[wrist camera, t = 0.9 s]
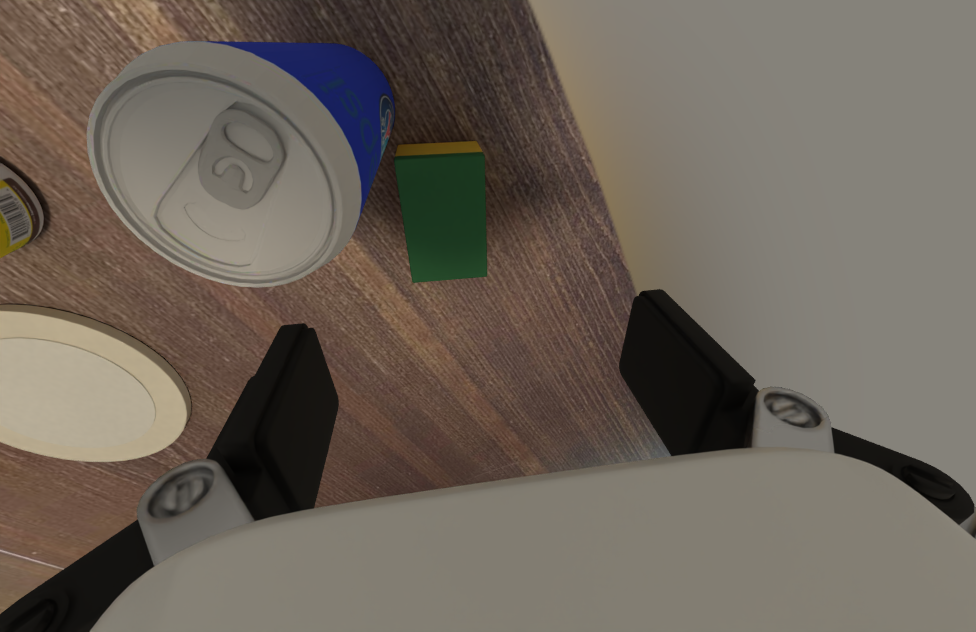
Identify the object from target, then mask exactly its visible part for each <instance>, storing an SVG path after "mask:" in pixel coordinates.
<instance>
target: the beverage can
mask: <svg viewBox="0 0 976 632" xmlns="http://www.w3.org/2000/svg"><path fill="white" fill-rule="evenodd" d="M394 120H395V104H394V98H393V94H392V91H391V88H390V86H389V84H388V81H387V80H386V78H385V76H384V75H383V73H382V72H381V70H380V69H379V68H378V67H377V65H376V64H375V63H374V62H373V61H372V60H371V59H370V58H368V57H367V56H366V55H364V54H363V53H361V52H360V51H358V50H356V49H354V48H352V47H349V46H346V45H342V44H336V43H278V42H215V41H187V42H177V43H172V44H167V45H162V46H159V47H156V48H154V49H152V50H150V51H147V52H145V53H143V54H141V55H140V56H138V57H137V58H136V59H134V60H133V61H132V62H131V63H129V64H128V65H127V66H126V67H125V68H124V69H123V70H122V71H121V73H120V74H119V75H118V76H117V77H116V78H115V79H114V80H113V81H112V82H111V83H109V84H108V85H107V86H106V88H105V89H104V90H103V92H102V93H101V94H100V95H99V97H98V98H97V99H96V102H95V104H94V106H93V109H92V111H91V113H90V116H89V122H88V128H87V148H88V155H89V159H90V163H91V167H92V171H93V173H94V176H95V178H96V180H97V183H98V185H99V187H100V190H101V191H102V193H103V195H104V196H105V198H106V200H107V201H108V203H109V205H110V206H111V208H112V209H113V210H114V211H115V213H116V214H117V215H118V217H119V218H120V219H121V220H122V222H123V223H124V224H125V225H126V226H127V227H128V228H129V229H130V230H131V231H132V232H133V233H134V234H135V235H136V236H137V237H138V238H139V239H140V240H141V241H143V242H144V243H145V244H146V245H148V246H149V247H150V248H151V249H152V250H154V251H155V252H157V253H158V254H160V255H161V256H163V257H164V258H166V259H167V260H169V261H170V262H172V263H174V264H176V265H178V266H179V267H181V268H183V269H185V270H187V271H189V272H192V273H194V274H197V275H199V276H201V277H204V278H206V279H210V280H213V281H217V282H220V283H224V284H229V285H235V286H241V287H272V286H277V285H282V284H287V283H290V282H293V281H295V280H298V279H301V278H303V277H304V276H306V275H308V274H310V273H311V272H313V271H314V270H316V269H318V268H320V267H321V266H323V265H325V264H327V263H328V262H330V261H331V260H332V259H333V258H334V257H336V256H337V255H338V254H339V253H340V252H341V251H342V249H343V248H344V247H345V246H346V245H347V243H348V242H349V240H350V238H351V236H352V235H353V233H354V231H355V229H356V226H357V223H358V221H359V218H360V215H361V213H362V210H363V207H364V205H365V202H366V199H367V196H368V194H369V191H370V188H371V186H372V183H373V180H374V178H375V175H376V172H377V169H378V167H379V164H380V161H381V159H382V156H383V153H384V151H385V148H386V145H387V142H388V140H389V137H390V134H391V132H392V128H393V125H394Z"/></svg>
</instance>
